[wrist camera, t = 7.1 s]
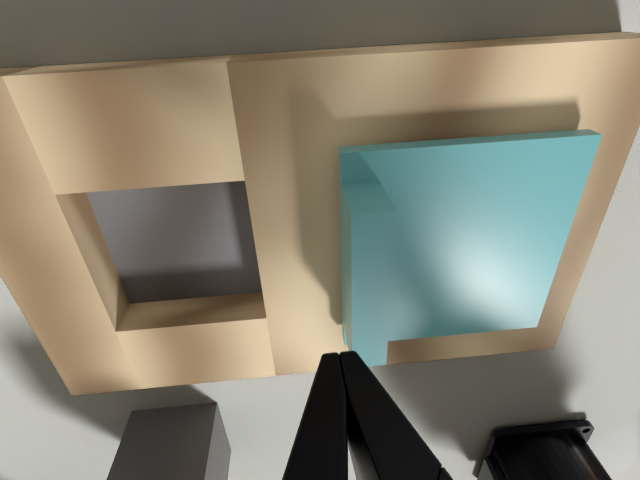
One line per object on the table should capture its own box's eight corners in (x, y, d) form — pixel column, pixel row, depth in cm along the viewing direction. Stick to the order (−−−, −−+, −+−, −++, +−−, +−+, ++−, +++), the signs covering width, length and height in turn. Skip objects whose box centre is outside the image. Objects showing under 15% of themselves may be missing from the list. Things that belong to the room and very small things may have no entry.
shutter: (588, 129, 12) (656, 157, 10) (529, 316, 16) (567, 365, 14) (338, 146, 12) (351, 179, 10) (342, 334, 16) (351, 387, 14)
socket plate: (623, 31, 13) (673, 35, 11) (530, 319, 20) (553, 348, 18) (-59, 72, 12) (-115, 83, 10) (91, 360, 19) (71, 395, 17)
